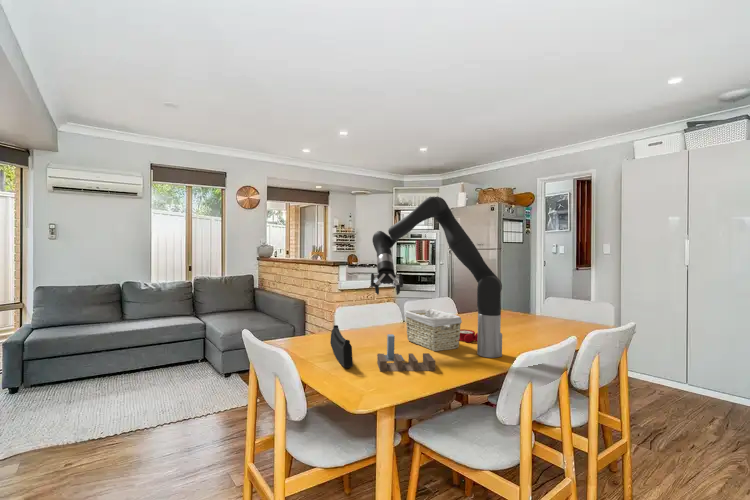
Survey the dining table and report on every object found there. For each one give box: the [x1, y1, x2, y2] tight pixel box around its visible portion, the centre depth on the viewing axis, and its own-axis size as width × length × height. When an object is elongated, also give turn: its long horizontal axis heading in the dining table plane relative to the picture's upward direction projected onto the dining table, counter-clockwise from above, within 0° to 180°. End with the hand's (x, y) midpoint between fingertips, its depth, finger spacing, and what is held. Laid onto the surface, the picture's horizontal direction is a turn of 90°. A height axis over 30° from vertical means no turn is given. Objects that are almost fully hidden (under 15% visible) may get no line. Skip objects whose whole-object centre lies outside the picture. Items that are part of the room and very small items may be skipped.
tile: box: [386, 333, 396, 359], centre depth 157 cm, size 2×4×9 cm, turn 5°
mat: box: [384, 354, 405, 362], centre depth 157 cm, size 10×9×1 cm
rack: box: [376, 353, 436, 373], centre depth 145 cm, size 20×10×4 cm, turn 95°
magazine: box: [330, 324, 354, 369], centre depth 155 cm, size 17×3×30 cm
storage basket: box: [404, 308, 463, 352], centre depth 181 cm, size 24×16×15 cm
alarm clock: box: [459, 328, 478, 343], centre depth 192 cm, size 10×6×15 cm
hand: (387, 293), depth 168 cm, fingers open, 8 cm apart
